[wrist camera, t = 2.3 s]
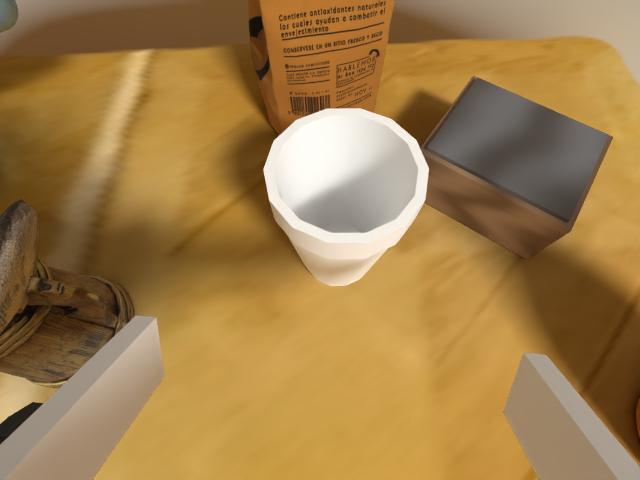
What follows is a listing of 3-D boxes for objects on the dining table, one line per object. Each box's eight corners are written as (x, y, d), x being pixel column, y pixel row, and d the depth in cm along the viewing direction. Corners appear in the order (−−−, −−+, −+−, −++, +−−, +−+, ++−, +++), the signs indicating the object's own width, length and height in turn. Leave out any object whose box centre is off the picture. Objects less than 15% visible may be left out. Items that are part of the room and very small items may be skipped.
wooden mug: (180, 384, 26) (-54, 375, 10) (9, 390, 26) (-507, 391, 10) (193, 276, 30) (39, 142, 14) (43, 281, 30) (-292, 152, 14)
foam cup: (279, 219, 32) (253, 121, 21) (370, 200, 33) (396, 96, 21) (298, 314, 29) (281, 261, 17) (401, 291, 29) (453, 224, 18)
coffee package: (258, 83, 40) (194, -224, 20) (359, 68, 41) (393, -240, 21) (269, 147, 36) (202, -156, 16) (380, 129, 37) (448, -179, 17)
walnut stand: (402, 190, 34) (418, 148, 28) (451, 121, 37) (475, 72, 31) (526, 259, 31) (574, 228, 25) (566, 177, 34) (616, 133, 28)
